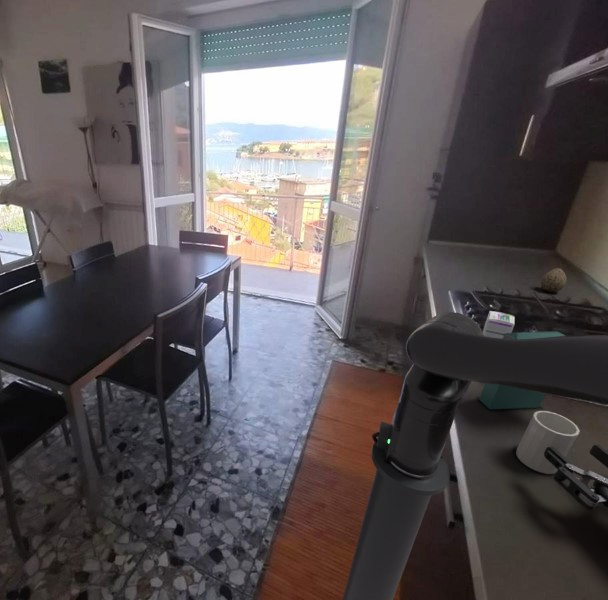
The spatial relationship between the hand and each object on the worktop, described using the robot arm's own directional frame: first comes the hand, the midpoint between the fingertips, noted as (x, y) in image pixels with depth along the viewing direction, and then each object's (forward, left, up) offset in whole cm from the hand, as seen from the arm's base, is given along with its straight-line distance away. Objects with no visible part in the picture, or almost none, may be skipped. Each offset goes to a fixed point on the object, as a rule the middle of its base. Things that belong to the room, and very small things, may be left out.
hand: (570, 449), depth 64 cm
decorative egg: (+23, +107, -8) cm, 110 cm away
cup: (-2, +3, -7) cm, 8 cm away
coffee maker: (-2, +18, -7) cm, 20 cm away
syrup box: (-6, +39, -8) cm, 41 cm away
